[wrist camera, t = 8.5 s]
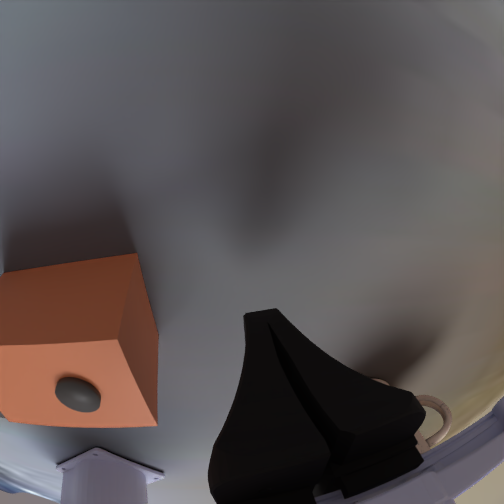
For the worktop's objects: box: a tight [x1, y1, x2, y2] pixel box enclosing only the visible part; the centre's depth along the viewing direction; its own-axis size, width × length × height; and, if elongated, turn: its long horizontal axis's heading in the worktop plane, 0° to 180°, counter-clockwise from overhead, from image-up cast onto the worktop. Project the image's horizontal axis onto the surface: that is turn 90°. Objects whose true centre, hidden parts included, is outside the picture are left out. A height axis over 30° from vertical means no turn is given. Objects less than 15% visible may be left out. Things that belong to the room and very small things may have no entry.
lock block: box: [0, 253, 159, 428], centre depth 12 cm, size 8×5×6 cm, turn 93°
